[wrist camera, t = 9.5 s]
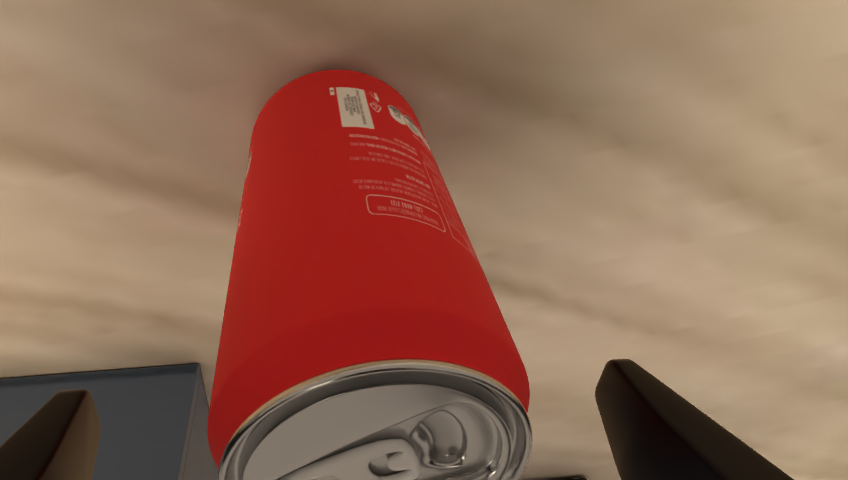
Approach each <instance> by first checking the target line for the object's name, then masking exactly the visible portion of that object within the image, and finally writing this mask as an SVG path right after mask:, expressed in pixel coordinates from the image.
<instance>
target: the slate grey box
mask: <svg viewBox="0 0 848 480" xmlns="http://www.w3.org/2000/svg"><path fill="white" fill-rule="evenodd" d="M74 389H87V390H89V391H90V392H91V394H92V397H93V400H94V403H95V406H96V410H97V413H98V416H99V419H100V424H101V434H100V440H99V445H98V450H97V455H96V461H95V466H94V471H93V476H92V480H218V467H217V465H216V463H215V461H214V459H213V457H212V454H211V451H210V448H209V443H208V436H207V423H208V414H209V408H208V403H207V399H206V394H205V389H204V384H203V380H202V375H201V370H200V365H199V364H186V365H174V366H161V367H148V368H135V369H122V370H109V371H96V372H83V373H71V374H58V375H45V376H32V377H19V378H6V379H0V446H1V445H2V444H3V443H4V442H5V441H6V440H7V439H8V438H9V437H10V436H11V435H12V434H13V433H14V432H15V431H16V430H18V429H19V428H20V427H21V426H22V425H23V424H24V423H25V422H26V421H27V420H28V419H29V418H30V417H31V416H32V415H33V414H35V413H36V412H37V411H38V410H39V409H40V408H41V407H42V406H43V405H44V404H45V403H46V402H47V401H48V400H49V399H50V398H52V397H53V396H54V395H55V394H56V393H58V392H59V391H62V390H74Z"/></svg>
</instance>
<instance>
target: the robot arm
mask: <svg viewBox="0 0 848 480" xmlns="http://www.w3.org/2000/svg"><path fill="white" fill-rule="evenodd" d="M595 397H596V402H597V405H598V409H599V412H600V415H601V418H602V422H603V425H604V428H605V431H606V434H607V438H608V441H609V444H610V447H611V451H612V454H613V457H614V460H615V463H616V466H617V469H618V472H619V475H620V477H621V480H794V479H792V478H791V477H790V476H788V475H787V474H786V473H784V472H783V471H782V470H780V469H779V468H777V467H776V466H775V465H773V464H772V463H771V462H769V461H768V460H767V459H765V458H764V457H762V456H761V455H760V454H758V453H757V452H756V451H754V450H753V449H752V448H750V447H749V446H748V445H746V444H745V443H743V442H742V441H741V440H739V439H738V438H737V437H735V436H734V435H733V434H731V433H730V432H729V431H727V430H726V429H724V428H723V427H722V426H720V425H719V424H718V423H716V422H715V421H714V420H712V419H711V418H710V417H708V416H707V415H705V414H704V413H703V412H701V411H700V410H699V409H697V408H696V407H695V406H693V405H692V404H691V403H689V402H688V401H686V400H685V399H684V398H682V397H681V396H680V395H678V394H677V393H676V392H674V391H673V390H672V389H670V388H669V387H667V386H666V385H665V384H663V383H662V382H661V381H659V380H658V379H657V378H655V377H654V376H653V375H651V374H650V373H648V372H647V371H646V370H644V369H643V368H642V367H640V366H639V365H638V364H636V363H635V362H633V361H632V360H629V359H615V360H610V361H608V362H607V363H606V365H605V368H604V370H603V372H602V375H601V377H600V379H599V382H598V384H597V386H596V391H595ZM100 434H101V424H100V419H99V416H98V413H97V410H96V406H95V403H94V400H93V397H92V394H91V392H90V391H89V390H87V389H74V390H62V391H59V392H58V393H56V394H55V395H54V396H53V397H52V398H50V399H49V400H48V401H47V402H46V403H45V404H44V405H43V406H42V407H41V408H40V409H39V410H38V411H37V412H36V413H35V414H33V415H32V416H31V417H30V418H29V419H28V420H27V421H26V422H25V423H24V424H23V425H22V426H21V427H20V428H19V429H18V430H16V431H15V432H14V433H13V434H12V435H11V436H10V437H9V438H8V439H7V440H6V441H5V442H4V443H3V444H2V445H1V446H0V480H92V476H93V471H94V466H95V461H96V455H97V450H98V445H99V440H100ZM569 480H587V479H585V478H578V479H569Z"/></svg>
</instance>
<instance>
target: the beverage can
mask: <svg viewBox="0 0 848 480" xmlns="http://www.w3.org/2000/svg"><path fill="white" fill-rule="evenodd" d="M529 397H530V391H529V382H528V376H527V373H526V370H525V367H524V364H523V362H522V360H521V358H520V355H519V353H518V351H517V348H516V346H515V344H514V341H513V339H512V337H511V334H510V332H509V330H508V327H507V325H506V323H505V321H504V318H503V316H502V314H501V311H500V309H499V307H498V304H497V302H496V300H495V297H494V295H493V293H492V291H491V288H490V286H489V284H488V281H487V279H486V277H485V274H484V272H483V270H482V267H481V265H480V263H479V261H478V258H477V256H476V254H475V251H474V249H473V247H472V244H471V242H470V240H469V237H468V235H467V233H466V230H465V228H464V226H463V224H462V221H461V219H460V217H459V214H458V212H457V210H456V207H455V205H454V203H453V200H452V198H451V196H450V194H449V191H448V189H447V187H446V184H445V182H444V180H443V177H442V175H441V173H440V170H439V168H438V166H437V164H436V161H435V159H434V157H433V154H432V152H431V150H430V147H429V145H428V143H427V140H426V138H425V136H424V134H423V131H422V129H421V127H420V124H419V122H418V120H417V118H416V115H415V114H414V112H413V110H412V108H411V107H410V105H409V104H408V103H407V102H406V100H405V99H404V98H403V97H402V96H401V95H400V94H399V93H398V92H397V91H396V90H395V89H393V88H392V87H391V86H389V85H388V84H386V83H385V82H383V81H381V80H379V79H377V78H375V77H373V76H370V75H367V74H364V73H360V72H356V71H350V70H324V71H318V72H314V73H310V74H307V75H304V76H302V77H299V78H297V79H295V80H293V81H291V82H290V83H288V84H286V85H285V86H284V87H282V88H281V89H280V90H278V91H277V92H276V93H275V94H274V95H273V96H272V97H271V98H270V99H269V100H268V102H267V103H266V104H265V106H264V107H263V109H262V110H261V112H260V114H259V116H258V118H257V120H256V123H255V125H254V129H253V133H252V138H251V144H250V151H249V157H248V163H247V170H246V176H245V183H244V189H243V196H242V202H241V208H240V215H239V221H238V228H237V234H236V241H235V247H234V253H233V260H232V266H231V273H230V279H229V286H228V292H227V298H226V305H225V311H224V318H223V324H222V331H221V337H220V343H219V350H218V356H217V363H216V369H215V376H214V382H213V388H212V395H211V401H210V408H209V414H208V423H207V436H208V443H209V448H210V451H211V454H212V457H213V459H214V461H215V463H216V465H217V467H218V480H519V478H520V477H521V475H522V473H523V472H524V470H525V468H526V466H527V463H528V461H529V458H530V454H531V449H532V428H531V424H530V420H529V417H528V415H527V412H528V406H529Z"/></svg>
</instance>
